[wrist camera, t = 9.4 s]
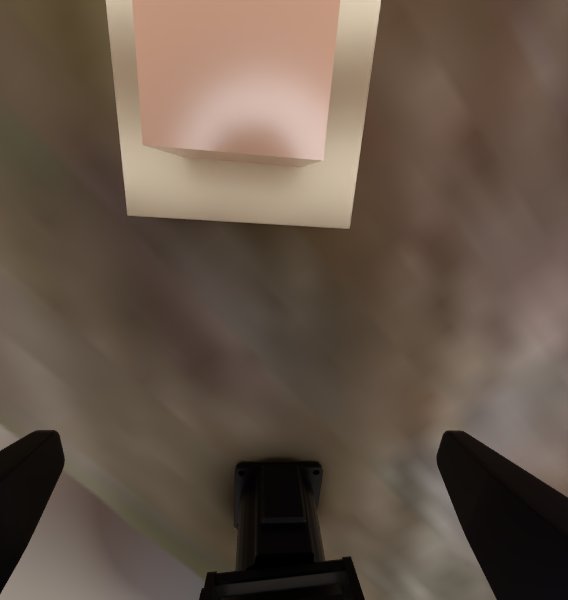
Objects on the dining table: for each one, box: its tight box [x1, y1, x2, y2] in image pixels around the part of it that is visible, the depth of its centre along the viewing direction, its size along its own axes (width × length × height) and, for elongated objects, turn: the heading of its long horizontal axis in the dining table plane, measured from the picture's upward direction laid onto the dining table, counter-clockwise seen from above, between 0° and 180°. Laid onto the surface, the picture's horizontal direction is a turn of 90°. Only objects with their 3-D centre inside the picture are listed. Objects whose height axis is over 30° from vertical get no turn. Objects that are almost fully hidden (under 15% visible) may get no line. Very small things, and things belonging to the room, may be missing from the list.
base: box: [106, 0, 381, 229], centre depth 14 cm, size 10×10×3 cm
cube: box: [132, 0, 340, 167], centre depth 10 cm, size 5×5×5 cm
